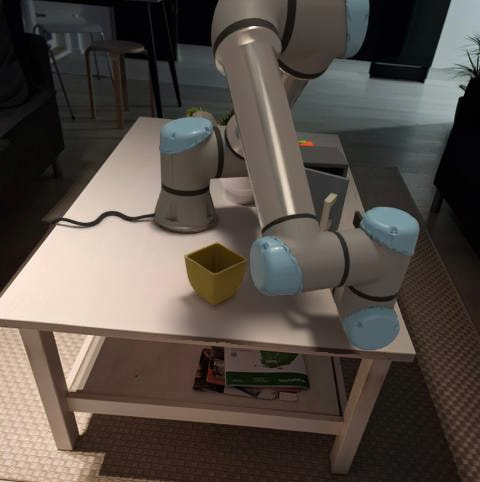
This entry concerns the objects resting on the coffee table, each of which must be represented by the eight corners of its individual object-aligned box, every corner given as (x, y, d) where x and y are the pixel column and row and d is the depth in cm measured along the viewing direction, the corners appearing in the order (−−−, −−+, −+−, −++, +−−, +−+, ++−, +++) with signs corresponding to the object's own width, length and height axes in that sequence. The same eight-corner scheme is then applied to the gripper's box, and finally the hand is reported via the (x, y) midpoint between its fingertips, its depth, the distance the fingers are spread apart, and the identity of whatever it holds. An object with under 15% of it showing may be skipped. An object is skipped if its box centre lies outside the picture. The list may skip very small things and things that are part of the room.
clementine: (291, 165, 153) (294, 143, 149) (288, 157, 158) (291, 136, 154) (315, 167, 154) (319, 145, 149) (312, 159, 159) (315, 137, 155)
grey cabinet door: (327, 251, 111) (341, 188, 101) (265, 232, 116) (273, 170, 106) (335, 240, 115) (349, 178, 105) (275, 222, 120) (284, 162, 110)
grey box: (335, 225, 122) (349, 164, 112) (274, 222, 120) (283, 161, 111) (325, 204, 131) (337, 147, 121) (269, 202, 130) (276, 143, 120)
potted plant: (187, 143, 152) (163, 117, 158) (207, 160, 164) (183, 136, 169) (213, 114, 149) (187, 89, 155) (231, 133, 161) (206, 110, 167)
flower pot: (182, 293, 94) (182, 254, 88) (215, 278, 99) (217, 240, 93) (212, 315, 89) (214, 275, 83) (245, 298, 94) (249, 259, 88)
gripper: (271, 291, 79) (259, 230, 96) (413, 295, 82) (377, 234, 98) (277, 253, 75) (263, 195, 91) (427, 258, 77) (387, 201, 93)
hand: (322, 215), depth 95 cm, fingers open, 13 cm apart
